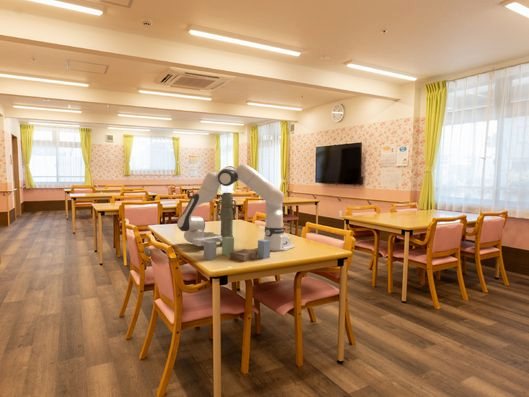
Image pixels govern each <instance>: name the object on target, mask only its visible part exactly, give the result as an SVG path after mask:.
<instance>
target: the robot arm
mask: <svg viewBox="0 0 529 397" xmlns="http://www.w3.org/2000/svg"><path fill="white" fill-rule="evenodd" d="M238 181H240V182H242V183H243V184H244V185H246V186H247V187H248V188H249V189H250V190H251V191H253V192H254V193H255V194H256V195H258V196H259V197H260V198H262V200H264V201H265V227H264V235H263V237H264V238H263V239H265V240H270V251H274V252H275V251H277V252H278V251H279V252H280V251H281V252H286V251H288V250H291V249H293V248H295V245H294V244H293V243H292V240H291V237H289V235H288V234H286V233H285V231H287V229H288V227H287V226H283V224H284V221H283V218H284V212H283V203H284V201H285V194H284V192H283V191H282V190H281V189H280V188H278V187H277V186H276V185H274V184H273V183H271V181H270V180H268V179H267V178H265V176H263V175H261V173H260V172H258V171H257V170H256V169H254V168H252V167H251V166H249V165H247V164H246V163H241V164H239V165H238V166H237V167H236V168H235V167H234V166H233V165H231V166H230V165H229V166H228V165H227V166H226V167H223V168H222V169H221V170H220V171H219V172H215V171H209V172H208V173H207V174H206V175H205V177H204V179H203V181H202V183H201V186H200V188H199V190H197V192H195V194H193V195H192V196H191V198H190V200H189V201H188V203H187V205H186V207H185V208H184V211H182V214H181V215H180V216H179V218H178V219H177V222H176V225H177V227H178V229H179V231H181V232H184V233H183V238H184V240H185V241H187V242H188V243H190V244H192V245H195V246H201V247H204V241H209V240H212V241H216V243H220V242H222V236H221V235H220V234H218V233H214V232H211V231H209V232H205V228H206V222H205V220H204V218H203V217H202V216H196V215H194V216H193V214H194V212H195V210H196V209H197V207H198V206H200V205H203V204H206V203H209V202H212V201H214V200H215V199H216V196H217V194H218V192H219V189H220V187H221V185H222V186H224V187H228V186H231V185H233V184H234V183H236V182H238Z"/></svg>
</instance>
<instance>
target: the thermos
mask: <svg viewBox="0 0 529 397" xmlns="http://www.w3.org/2000/svg"><path fill="white" fill-rule="evenodd" d="M220 202H221V203H220ZM217 203H218V204H217V215H218V216H219V218H220V234H219V235H221V236H222V237H233V238H234V234H233V231H234V230H233V228H234V226H233V225H234V222H233V220H234V216H236V213H237V212H236V210H237V209H236V208H237V202H236V200H235V199H234V197H233V194H232V193H231V192H223V193H222V195H221V198H220V199H219V200H218V201H217ZM220 204H221V208H220ZM233 205H234V206H233ZM219 245H220V246H221V247H222V242H219Z"/></svg>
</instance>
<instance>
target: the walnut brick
mask: <svg viewBox="0 0 529 397" xmlns="http://www.w3.org/2000/svg"><path fill="white" fill-rule="evenodd" d="M229 256H230V260H233V261H238V262H242V263H245V262H249V261H253V260H256V259H258V251H255V250H250V249H245V248H244V249H240V250H239V249H238V250H236V251H235V250H234V252H231V253H230V255H229Z"/></svg>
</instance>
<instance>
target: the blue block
mask: <svg viewBox="0 0 529 397" xmlns="http://www.w3.org/2000/svg"><path fill="white" fill-rule="evenodd" d="M257 252H258V255H257V259H262V260H266V259H269V258H271V250H270V240H265V239H264V238H263V239H259V240H257Z"/></svg>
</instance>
